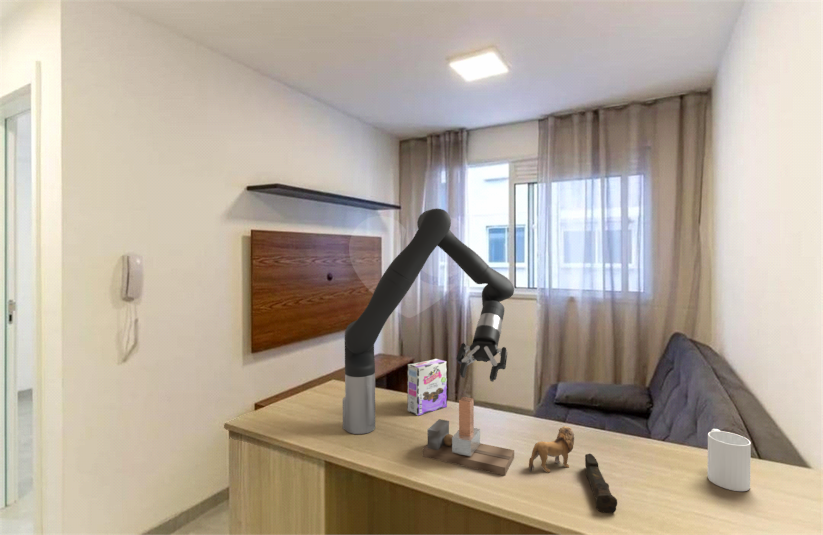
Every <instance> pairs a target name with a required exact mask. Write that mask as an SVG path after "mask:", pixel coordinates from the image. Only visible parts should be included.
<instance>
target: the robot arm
mask: <svg viewBox="0 0 823 535" xmlns="http://www.w3.org/2000/svg"><path fill="white" fill-rule="evenodd" d="M451 224H452V219H451V217H450V214H449V212H447V211H446V210H445V209H442V208H430V209H428V210H425V211H423V212H422V213H421V214H420V215H419V217H418V218H417V229H418V230H417V231H416V233H415V234H414V236H413V237H412V238H411V241H410V242H409V243H408V245H407V246H405V248H403V250H402V251H401V252H400V253H399V254H398V255H397V256H396V257H395V258H394V259H393V260H392V261H391V263H390V264H389V265H388V267H387V268H386V270H384V271H385V272H384V273H383V275H381V278H380V279H379V281H378V283H377V285H376V287H375V289H374V291H373V293H372V296H371V298H370V300H369V302H368V305H367V306H366V308H365V309H364V311H363V312H362V313H361V314H360V316H359V317H358V318H357V320H354V321H352V322H350V323H349V324H348V325H347V327H346V329H345V331H344V378H345V379H344V380H345V381H344V384H345V385H344V388H345V390H344V391H345V393H344V395H345V396H344V397H343V398H342V429H343V430H344V431H346V432H347V433H349V434H355V435H361V434H362V435H363V434H369V433H371V432H373V431H374V430H375V429H376V363H375V362H376V361H375V343H376V341H377V339H378V338H379V335H380V334H381V331H382V329H383V327H384V325H385V324H386V322H387V321H388V319H389V317H390V316H391V315H392V313H394V311H395V310H396V308H398V305H400V303H401V302H402V301H403V299H404V297H405V296H406V295H407V293H408V292H409V291H410V289H411V287H412V286H413V284H414V282H415V281H416V279H417V277H418V276H419V274H420V273H421V271H422V270H423V267H424V266H425V264H426V262H427V261H428V258H429V257H431V256H430V255H431V254H432V253H433V251H434V250H435V249H436V248H437V247H438V248H439V249H440V250H442V251H443V252H445V254H446V255H447V256H449V257H450V258H451V259H452V260H453V261H454V262H455V263H456V264H457V266H458V267H460V269H462V271H463V272H464V273H465V274H466V275H467V276H468V277H469V278H470V279H471V280H472V281H473V282H474V283H475V284H476V285H485V284H486V285H485V286H483V289H482V291H481V303H482V304H481V305H482V308H481V311H480V316H479V319H478V321H477V324H476V328H475V331H474V335H473V339H472V343H471V345H468V344H467V345H466V343H464V342H463V343H461V344H460V347H459V350H458V352H457V355H456V359H455V360H456V361H457V362H458V363H457V364H459V365H460V368H459V375H460V376H461V378H464V379H465V377H466V374H467V370H468V366H470V364H473V363H474V362H476V361H477V362H484V363H488V362H490V364H491V369H490V374H489V380H490V382H492V383H493V382H494V381H496V379H497V377H498V373H499V372H498V371H499V370H506V367H507V360H508V351H507V347H505V346H502V347H501V348H498V347H499V344H500V342H499V341H500V337H501V334H502V329H503V328H502V327H503V320H504V315H505V307H504V304H502V302H504V301H505V300H507V299H510V298H511V297H512V296H514V293H515V288H514V285H513V283H512V281H511V280H510V279H509V278H508V277H507V276H505V275H504V274H502V273H501V272H498V271H496V270H495V269H493V267H490V266H489V265H488V263H487V262H486V261H485V260H484V259H483V258H482V257H481V256H480V255H479V254H478V253H476V252H475V251H474V250H473V249H471V248H470V247H469V246H467V244H465V243H463V242H462V240H460V239H459V238H458V237H456V235H455V234H454V233H453V232H452V231H451ZM497 355H499V357H500V359H499V362H497V361H496V359H495V357H496V356H497Z"/></svg>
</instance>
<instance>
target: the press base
mask: <svg viewBox="0 0 823 535" xmlns="http://www.w3.org/2000/svg"><path fill="white" fill-rule="evenodd" d="M447 434H450V421H449V420H445V419H441V418H439V419H438V420H436V421H435V422H434V423H433V424H432V425H430V426H429V428H428V429H427V444H426V445H425V446H424V447H423V448H422V457H423V458H427V459H430V460H431V459H432V460H436V461H440V462H444V463H449V464H453V465H456V466H457V465H458V466H462V467H466V468H470V469H475V470H478V471H482V472H483V471H484V472H487V473H492V474H495V475H501V476H505V477H506V475H507V473H508V471H509V470H510V468H511V465H512V464H513V462H514V459H515V449H511V448H510V449H509V448H507V447H501V446H495V445H490V444H487V443H481V442H480V445H479V446H478V447H477V449H476V450H475V451H474V453H473V454H472V456H471V457H470V456H465V455H461V454H456V453H452V446H447V445H446V444H445V443H444V437H445V435H447Z"/></svg>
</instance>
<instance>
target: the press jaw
mask: <svg viewBox="0 0 823 535" xmlns="http://www.w3.org/2000/svg"><path fill="white" fill-rule="evenodd" d="M474 406H475V404H474V398H472V397H466V396H462V397H461V398H459V400H458V430H457V431H456V432H455V433H454V434H453V437H452V453H456V454H461V455H465V456H470V457H471V456H472V454H473V453H474V451H475V450H476V449H477V447H478V446H479V445H480V443H481V429H480V428H474V427H475V426H474V421H475V420H474V416H475V415H474V414H475V412H474Z"/></svg>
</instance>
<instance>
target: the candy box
mask: <svg viewBox="0 0 823 535" xmlns="http://www.w3.org/2000/svg"><path fill="white" fill-rule="evenodd" d="M447 363H448V362H447V361H446V360H443V359H439V358H434V359H430V360H424V361H421V362H420V361H419V362H415V363H408V364H407V403H406V404H407V406H406V407H407V409H406V410H407V412H409V413H411V414H413V415H415V416H422V415H425V414H428V413H432V412H434V411H438V410H441V409H444V408H447V407H448V390H447V389H448V387H447V386H448V382H447V381H448V378H447V377H448V373H447V372H448V370H447V369H448V367H447V366H448V364H447Z"/></svg>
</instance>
